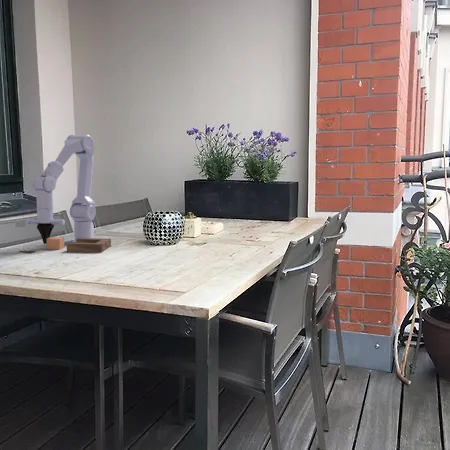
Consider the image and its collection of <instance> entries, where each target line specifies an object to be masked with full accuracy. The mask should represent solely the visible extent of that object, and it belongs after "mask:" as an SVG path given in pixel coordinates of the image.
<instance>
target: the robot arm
mask: <svg viewBox="0 0 450 450" xmlns="http://www.w3.org/2000/svg"><path fill="white" fill-rule="evenodd" d="M95 144H96V141H95V140H94V139H93V137H92V135H90V134H80V135H79V134H75V135H74V134H69V135H68V136H67V138H66V139H65V140H64V146H63V147H62V149H61V151H60V152H59V153H58V156H57V157H56V159H55V160H52V161H49V162H48V163H47V166H46V167H45V169H44V170H43V171H42V172H41V174H40V176H37V177H36V178H35V179H34V180H33V182H32V188H33V190H34V192H35V193H34V194H35V196H36V216H37V218H26V219H25V225H37V226H36V229H37V230H38V233H39V234H40V236H41V240H42V243H43V245H44V244H46V245H47V238H50V237H51V234H52V232H53V229H54V227H55V225H56V226H57V225H58V226H64V225H66V220H65V219H60V218H58V219H57V218H54V207H53V206H54V203H53V201H54V200H53V191H54V190H55V189H56V188H57V187H56V186H57V180H58V179H59V177H60V176H61V175H62V173H63V172H64V165H65V164H66V163H67V162H68V161H69V160H70V158H71V157H72V156H73V154H75V156H77V157H78V158H79V160H80V161H79V168H78V169H79V170H78V179H77V181H78V182H77V191H76V197H74V199H73V200H72V201H71V206H70V208H69V215H70V217H71V218H72V220H73V226H74V227H73V229H74V230H73V231H74V233H73V234H74V239H73V240H71V242H70V243H76V239H78V238H95V226H94V225H95V224H94V223H93V221H94V219H95V218H96V214H97V210H96V209H97V208H96V202H95V200H93V199H92V198H91V195H92V182H93V175H94V174H93V172H94V162H95V152H94V151H95Z"/></svg>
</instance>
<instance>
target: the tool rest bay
mask: <svg viewBox="0 0 450 450" xmlns="http://www.w3.org/2000/svg"><path fill="white" fill-rule="evenodd" d="M110 247H112V239H111V238H96V237H94V238H78V239H76V242H67V243H66V253H99V254H100V253H103V252H104V251H106V250H107V249H109V248H110Z"/></svg>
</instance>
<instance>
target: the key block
mask: <svg viewBox="0 0 450 450" xmlns="http://www.w3.org/2000/svg"><path fill="white" fill-rule="evenodd" d="M64 248H65V237H64V236H50V238H47V244H46V250H57V251H59V250H61V249H64Z"/></svg>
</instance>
